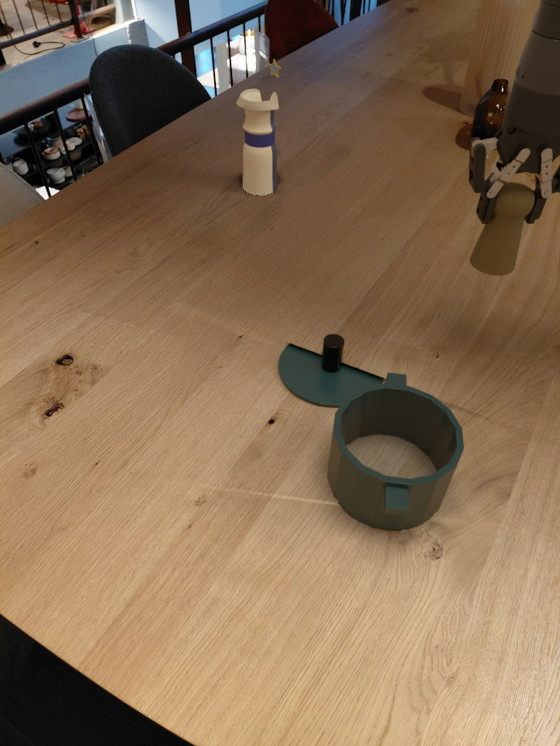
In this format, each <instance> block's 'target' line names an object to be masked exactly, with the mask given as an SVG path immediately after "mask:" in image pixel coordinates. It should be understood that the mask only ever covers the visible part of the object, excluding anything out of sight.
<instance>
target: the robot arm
mask: <svg viewBox="0 0 560 746" xmlns="http://www.w3.org/2000/svg"><path fill="white" fill-rule="evenodd" d="M502 120H503V121H502V125H501V127H500V129H499V130H498V132H497V133H496V134H495V136H494V137H490V138H484V139H481V137H478V136H475V137H472V138H471V139H470V141H469V155H468V160H469V161H468V183H469V185H470V187H471V189H472V190H473V192H474V193H475V194H479V198H478V202H477V205H476V209H475V214H476V216H477V218H478V220H479V221H480V223H481V224H482V225H485V224H489V221H490V218H491V215H492V211H493V208H494V205H495V202H496V197H495V196H496V195H497V193H498V192H499V190H500V189H501V188H502V186H503V185H504V184H505V183H508V182H510V181H511V179H512V178H513V176H514V175H515V174H516V175H518V174H523V173H528V174H531V175H532V174H533V177H534V189H532V190H533V192H534V195H535V202H534V205H533V208H532V210H531V211H530V213H529V214H527V215H526V216H525V218H524V222H525V223H526V224H527V225H534V224H535V223H536V221H537V220H539V219H540V217H542V213H543V211H544V208H545V206H546V203H547V200H548V198H550V197H551V195H553V194H556V193H559V194H560V164H559V165H558V166H557V168H556V170H555V171H553V162H554V161H555V160H556V159H557V158H558V157H560V0H538V4H537V9H536V12H535V15H534V18H533V22H532V25H531V29H530V32H529V35H528V37H527V39H526V42H525V44H524V47H523V50H522V52H521V56H520V59H519V62H518V65H517V66H516V69H515V76H514V80H513V84H512V86H511V90H510V95H509V97H508V102H507V104H506V108H505V111H504V115H503V119H502ZM494 150H496V151H497V154H498V156H497V157H496V158H495V160H494V161H493V163H492V165H491V166H490V170H489V172H488V174H487V175H486V174H485V173H486V161H487V160H489V159H490V157H491V156H492V152H493V151H494ZM553 172H554V173H553ZM485 175H486V177H485Z"/></svg>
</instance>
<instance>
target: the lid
mask: <svg viewBox="0 0 560 746" xmlns="http://www.w3.org/2000/svg"><path fill="white" fill-rule="evenodd" d="M345 342H346V341H345V338H344V337H343V336H342V335H340V334H337V333H329V334H327V335H325V336H324V337H323V341H322V349H321V353H318V352H316V351H313V350H310V349H307V348H305V347H302V346H299V345H297V344H294V343H291V342H289V343H288V344H287V345H285V347H284V349H283V350H282V352H281V354H280V356H279V360H278V364H277V365H278V366H277V367H278V374H279V377H280V379H281V382H282V383H283V385H284V387H286V388H287V390H288V391H289V392H290V393H292V394H293V395H294V396H296V397H297V398H299V399H300V400H302V401H304V402H307V403H309V404H312V405H316V406H319V407H320V406H321V407H326V408H339V407H340V405H341V404H342V403H343V401H344V400H345V398H346V397H348V396H350V395H351V394H353V393H355V392H357V391H358V390H360V389H362V388H364V387H368V386H373V385H379V384H383V380H384V377H383V376H380V375H377V374H375V373H372V372H369V371H366V370H364V369H361V368H359V367H356V366H353V365H350V364H348V363H345V362H343V357H344V349H345Z"/></svg>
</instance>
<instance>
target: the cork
mask: <svg viewBox="0 0 560 746" xmlns="http://www.w3.org/2000/svg"><path fill="white" fill-rule="evenodd" d="M533 190H534V189H532V188H531V187H530V186H528V185H526V184H523V183H520V182H513V181H509V182H508V183H505V184H504V185H503V186H502V188H501V189H500V190H499V192H498V193H497V195H496V196H495V197H496V202H495V205H494V208H493V211H492V215H491V218H490V221H489V224H484V226H483V229H482V231H481V233H480V235H479V237H478V239H477V241H476V243H475V246H474V248H473V250H472V253H471V254H470V257H469V264H470V265H471V266H472V267H473V268H474V269H475V270H477V271H478V272H480V273H483V274H486V275H489V276H497V277H499V276H506V275H507V276H508V275H510V274H511V273H513V272H514V271H515V268H516V266H517V265H516V264H517V259H518V255H519V250H520V249H519V248H520V243H521V240H522V239H521V238H522V232H523V229H524V224H525V223H524V222H525V220H524V218H525V216H526V215H527V214H529V213H530V211H531V210H532V208H533V205H534V202H535V195H534V192H533Z"/></svg>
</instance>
